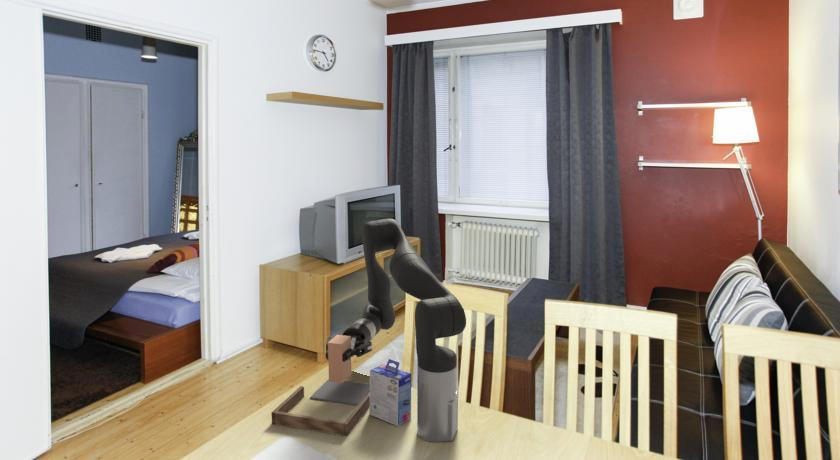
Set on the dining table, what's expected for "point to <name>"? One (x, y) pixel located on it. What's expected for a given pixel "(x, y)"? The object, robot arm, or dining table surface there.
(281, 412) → the walnut open frame
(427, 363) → the robot arm
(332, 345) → the tall peach block
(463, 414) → the dining table surface
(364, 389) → the charcoal mat
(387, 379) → the ink cartridge box
